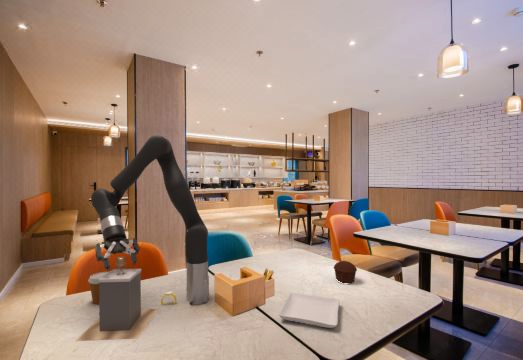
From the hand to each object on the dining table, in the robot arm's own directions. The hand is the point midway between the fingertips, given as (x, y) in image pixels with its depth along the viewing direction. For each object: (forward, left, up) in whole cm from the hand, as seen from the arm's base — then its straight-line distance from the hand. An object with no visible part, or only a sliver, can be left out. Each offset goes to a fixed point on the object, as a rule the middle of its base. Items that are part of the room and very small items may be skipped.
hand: (122, 266), depth 96 cm
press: (+1, -1, -21) cm, 21 cm away
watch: (-12, -15, -22) cm, 30 cm away
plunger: (+1, -1, -18) cm, 18 cm away
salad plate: (-70, -5, -23) cm, 74 cm away
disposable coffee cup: (+18, -20, -22) cm, 35 cm away
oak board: (+1, -1, -22) cm, 22 cm away
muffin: (-96, -37, -22) cm, 105 cm away
